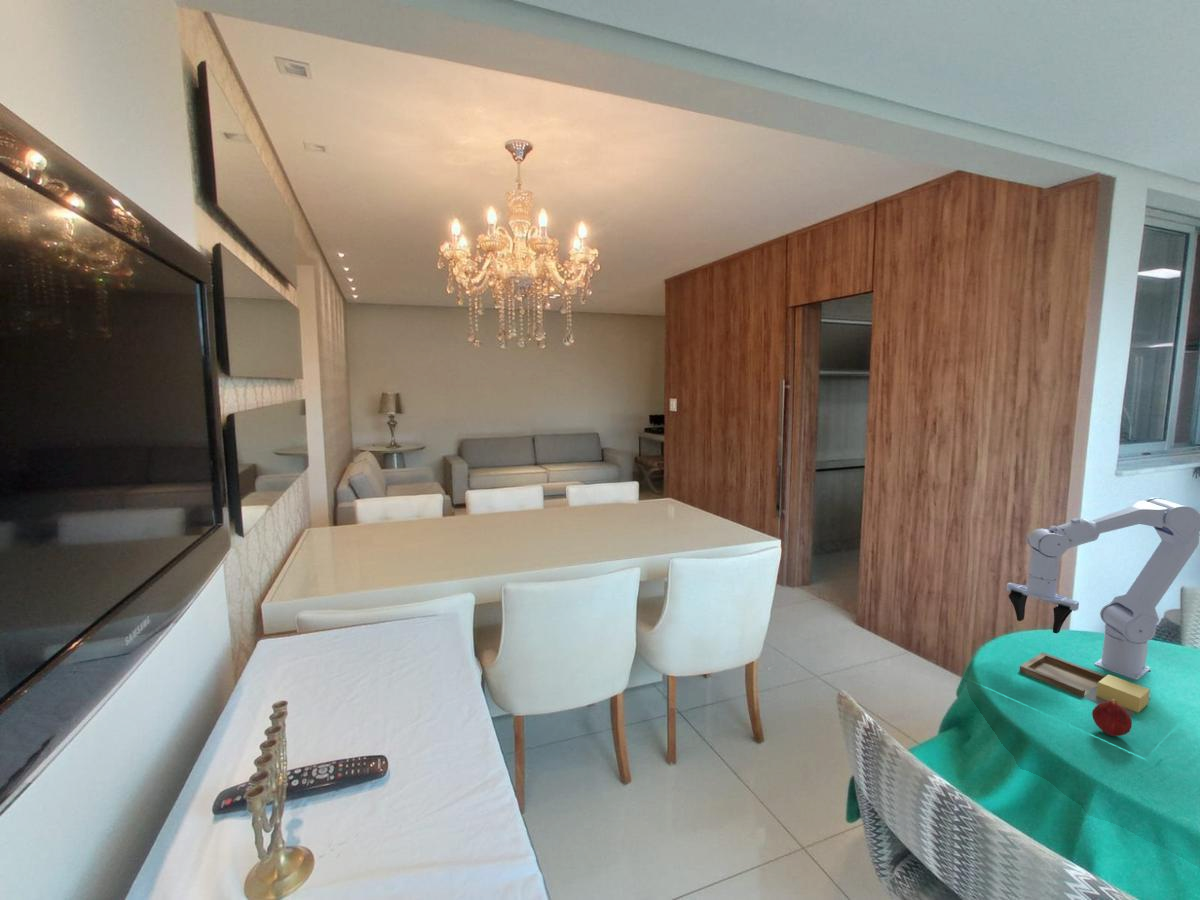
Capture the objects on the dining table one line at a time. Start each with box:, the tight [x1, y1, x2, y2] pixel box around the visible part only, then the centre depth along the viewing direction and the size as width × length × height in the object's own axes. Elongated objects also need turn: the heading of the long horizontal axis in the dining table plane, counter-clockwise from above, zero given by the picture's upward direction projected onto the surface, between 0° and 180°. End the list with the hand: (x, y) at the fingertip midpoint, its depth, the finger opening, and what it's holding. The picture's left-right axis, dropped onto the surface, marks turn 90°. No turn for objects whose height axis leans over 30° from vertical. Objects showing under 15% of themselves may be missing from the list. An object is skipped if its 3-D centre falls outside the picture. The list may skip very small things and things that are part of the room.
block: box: [1096, 674, 1151, 713], centre depth 118 cm, size 6×7×4 cm
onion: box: [1091, 699, 1133, 737], centre depth 107 cm, size 6×6×8 cm
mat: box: [1082, 686, 1151, 718], centre depth 119 cm, size 12×8×1 cm, turn 119°
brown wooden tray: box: [1019, 651, 1105, 698], centre depth 128 cm, size 12×12×2 cm
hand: (1037, 625), depth 134 cm, fingers open, 7 cm apart
